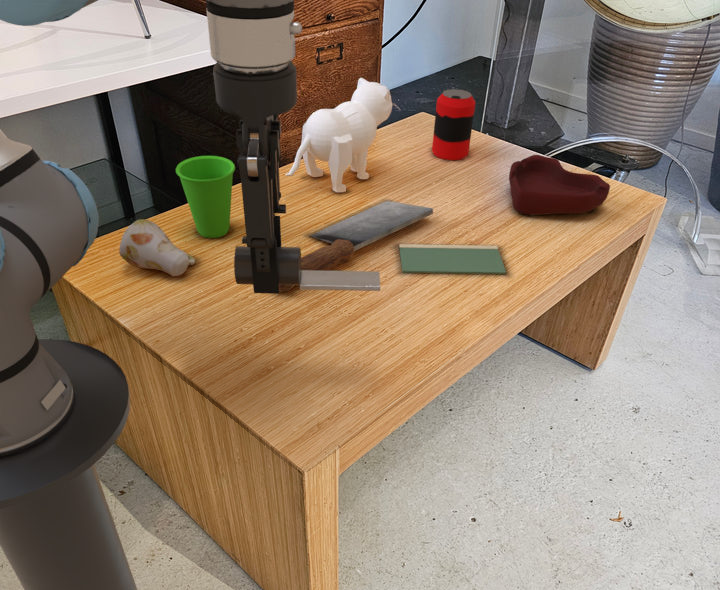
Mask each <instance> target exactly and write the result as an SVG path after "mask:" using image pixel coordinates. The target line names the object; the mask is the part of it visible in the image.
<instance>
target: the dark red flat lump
mask: <svg viewBox="0 0 720 590" xmlns="http://www.w3.org/2000/svg"><path fill="white" fill-rule="evenodd" d="M508 182H509V187H510V196H511V197H510V198H511V201H512V207H513V209H514V210H515V211H516V212H517V213H518V214H519V215H522V216H525V217H527V216H529V217H530V216H534V215H535V216H537V215H539V216H540V215H554V214H556V215H557V214H584V213H593V212H594V211H595V209H597V208H599V207H600V206H602V205H603V204H604V202H605V201H606V200H607V198H608V196H609V193H610V189H611V185H610V183H608V182H606V181H605V180H604V179H603V178H602V177H600V176H599V175H597V174H590V173H588V174H587V173H579V172H573V171H569V170H567V169H565V168H564V167H563V166H562V164H561V163H560V160H559V159H558V158H554V157H548V156H543V155H540V154H532V155H529V156H528V157H525V158H523V159H521V160H517V161H514V162H513V163H511V166H510V169H509V173H508Z"/></svg>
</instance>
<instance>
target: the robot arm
mask: <svg viewBox="0 0 720 590" xmlns="http://www.w3.org/2000/svg"><path fill="white" fill-rule="evenodd" d="M98 1H99V0H0V21H2V22H5V23H7V24H11V25H16V26H22V27H29V26H31V27H32V26H33V27H34V26H38V25H41V24H44V23H54V22H59V21H62V20H66V19H67V18H70V17H71V16H73V15H75V14H76V13H78V12H79V11H81V10H82V9H83V8H86V7H87V6H90V5H92V4H94V3H96V2H98ZM205 6H206V7H205V8H206V20H207V31H208V41H209V51H210V56H211V58H212V59H213V60H214V61H215V64H214V66H213V68H212V69H213V70H212V73H213V81H214V91H215V101H216V104H217V107H219V108H220V109H221V110H222V111H223V112H225V113H227V114H231V115H235V116H237V117H238V118H240V119H239V125H238V126H239V129H235V130H236V132H235V139H236V140H235V141H236V148H237V150H238V151H239V155H238V156H237V159H236V163H237V166H238V170H239V177H240V183H241V195H242V207H243V218H244V228H245V235H243V236H242V239H241V244H243V245H246V246H247V247H250V252H251V264H252V276H253V284H252V287H253V294H274V295H275V294H277V295H279V294H280V291H279V279H278V260H277V247H283V246H282V227H281V215H276V214H286V213H287V204H284V203H283V204H280V201H281V199H282V192H281V182H280V181H281V180H280V157H281V148H280V147H281V146H280V145H281V144H280V139H281V134H282V124H281V120H278V118H279V116H280V115H284V114H285V113H288V112H290V111H291V110H292V109H294V108H295V106H297V102H298V88H297V87H298V84H297V82H298V81H297V79H298V77H297V67H296V65H295V64H294V62H293V60H294V59H295V57H296V37H295V35H300V34H302V32H303V26H302V23H301V22H299V21H295V22H293V19H294V18H295V0H205ZM286 215H287V214H286ZM99 218H100V217H99V212H98V207H97V204H96V201H95V199H94V197H93V194H92V193H91V191H90V189H89V188H88V186H87V185H86V184H85V182H83V180H82V179H81V178H80V177H79V176H78V175H77V174H76V173H75V172H74V171H72V170H71V169H70V168H68V167H65V168H64V167H61V165H60V164H59V163H57V162H55V161H51V160H42V159H41V158H40V156H39V155H38V153H37V152H36V151H35V149H33V147H32V146H31V145H30V144H27V143H22V142H18V141H14V140H12V139H11V138H8V136H6V134H5V133H4V132H3V131H2V129H1V128H0V458H5V457H9V456H13V455H16V454H19V453H21V452H24V451H26V450H29V449H31V448H33V447H35V446H37V445H39V444H40V443H42V442H44V441H45V440H47V439H48V438H50V437H51V436H52V435H53V434H55V433H56V432H57V431H58V430H59V429H60V428H61V427H62V426H63V425H64V424H65V423H66V421H67V420H68V419H69V417H70V415H71V413H72V411H73V409H74V406H75V392H74V389H73V386H72V383H71V380H70V378H69V377H68V375H67V373H66V372H65V371H64V369H63V368H62V367H61V366H60V365H59V364H58V363H57V362H56V361H55V360H54V358H53V357H52V356H51V355H50V354H49V353H48V352H47V351H46V350H45V349H44V348H43V346H42V345H41V344H40V343H39V341H38V339H39V338H38V336H37V333H36V329H35V326H34V324H33V321H32V318H31V316H30V315H31V314H30V312H31V310H32V308H33V307H34V306H35V305H36V304H37V303H38V302H39V301H40V300H41V299H42V298H43V297H44V296H45V295H47V293H48V292H49V291H50V290H51V289H52V288H53V287H54V286H55V285H56V284H57V283H58V282H59V281H60V280H61V279H62V278H63V277H64V276H65V275H66V274H67V273H68V272H69V271H70V270H71V269H72V268H74V267H76V266H77V265H78V264H79V263H80V262H81V261H82V260H83V258H85V255H86V254H87V253H88V250H89V249H90V248H91V246H93V244H94V242H95V240H96V239H97V236H98V230H99V226H100V225H99V223H100V219H99Z"/></svg>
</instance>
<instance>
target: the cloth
mask: <svg viewBox="0 0 720 590" xmlns="http://www.w3.org/2000/svg"><path fill="white" fill-rule="evenodd" d="M398 250H399V257H400V265H401V273H403V274H442V275H443V274H451V275H452V274H456V275H464V274H465V275H507V271H506V268H505V265H504V262H503V259H502V255H501V253H500V250H499V247H498V245H487V244H486V245H483V244H482V245H481V244H479V245H478V244H422V243H421V244H417V243H416V244H415V243H412V244H411V243H409V244H408V243H406V244H405V243H399V244H398Z"/></svg>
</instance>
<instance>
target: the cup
mask: <svg viewBox="0 0 720 590" xmlns="http://www.w3.org/2000/svg"><path fill="white" fill-rule="evenodd" d="M235 171H236V166H235V163H233V161H232V160H230V159H228V158H226V157H222V156H218V155H200V156H193V157H190V158H187V159H184V160H183V161H181V162H179V163H178V164H177V166H176V168H175V173H176V175H177V176H178V177H179V180H180V182H181V187H182V189H183V192H184V195H185V198H186V201H187V204H188V207H189V209H190V214H191V217H192V219H193V222H194V225H195V228H196V231H197V233H198V234H199V235H200V236H202V237H204V238H206V239H207V238H208V239H216V238H220V237H223V236H225V235H227V234H228V233H229V230H230V227H231V225H230V223H231V209H232V191H233V177H234V176H233V175H234V172H235Z"/></svg>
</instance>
